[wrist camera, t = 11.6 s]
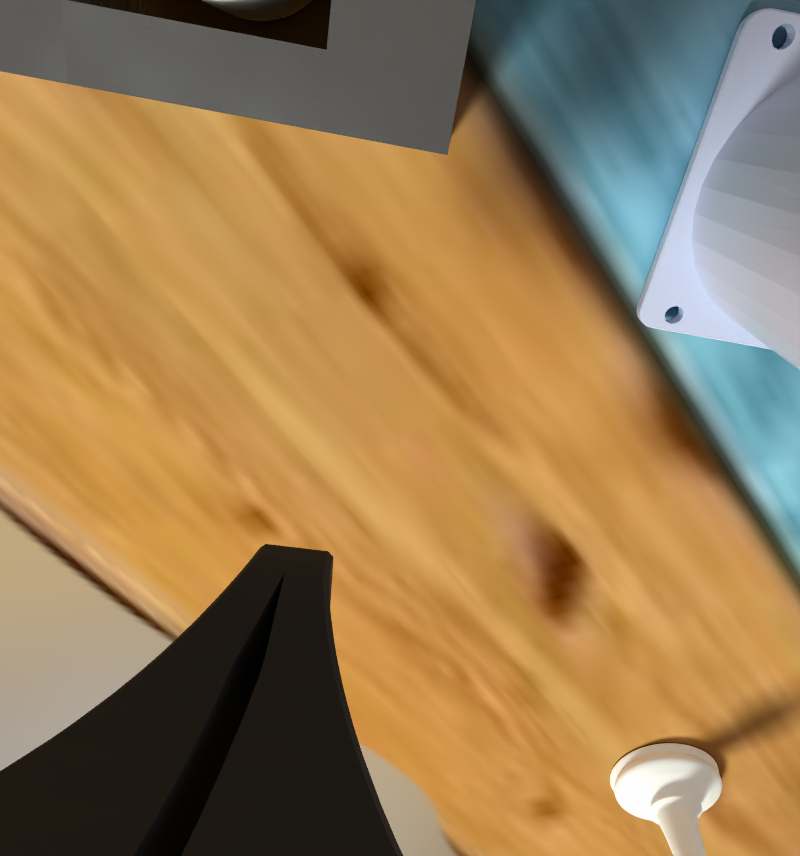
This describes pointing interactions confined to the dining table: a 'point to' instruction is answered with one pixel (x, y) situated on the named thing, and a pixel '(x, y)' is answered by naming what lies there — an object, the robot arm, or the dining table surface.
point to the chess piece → (669, 791)
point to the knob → (259, 8)
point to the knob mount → (260, 63)
